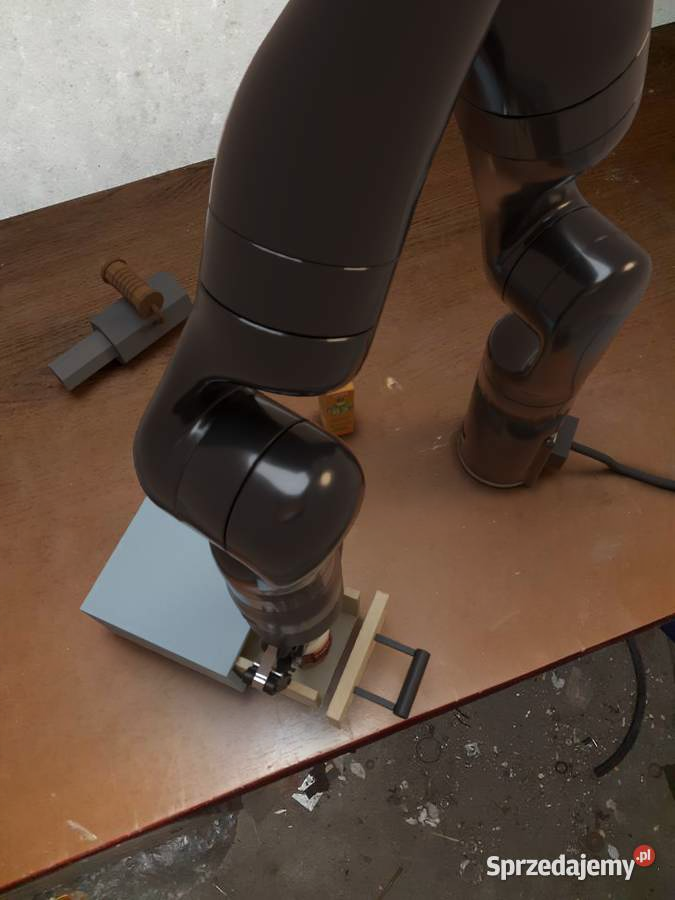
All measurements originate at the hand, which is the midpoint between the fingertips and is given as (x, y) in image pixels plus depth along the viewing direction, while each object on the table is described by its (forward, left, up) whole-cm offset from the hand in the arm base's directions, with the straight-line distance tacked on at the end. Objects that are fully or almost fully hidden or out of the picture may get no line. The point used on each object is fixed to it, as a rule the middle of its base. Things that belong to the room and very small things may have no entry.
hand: (305, 630), depth 61 cm
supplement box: (+7, -24, -8) cm, 26 cm away
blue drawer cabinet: (+11, 0, -7) cm, 14 cm away
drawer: (-2, 0, -6) cm, 7 cm away
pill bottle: (0, 0, -5) cm, 5 cm away
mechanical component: (+35, -24, -8) cm, 43 cm away
